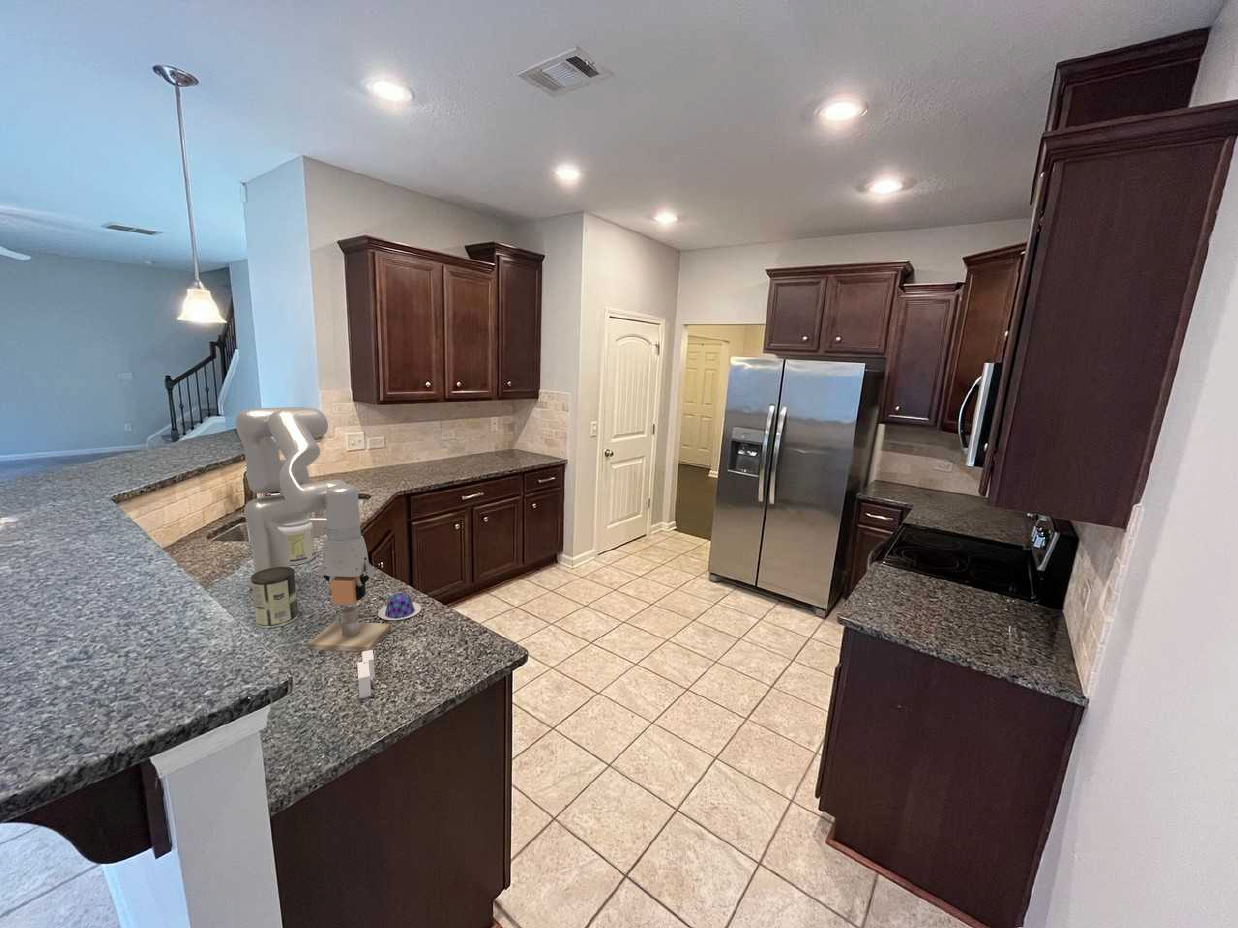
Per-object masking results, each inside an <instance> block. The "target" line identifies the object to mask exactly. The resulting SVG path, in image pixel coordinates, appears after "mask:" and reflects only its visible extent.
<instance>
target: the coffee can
mask: <svg viewBox="0 0 1238 928" xmlns="http://www.w3.org/2000/svg"><path fill="white" fill-rule="evenodd" d="M295 572H296V571H295V569H294V568H293V567H291V568H290V567H274V568H269V569H265V570H261V571H259V572H256V573H254V572H253V574H252V575H251V576H250V579H251V581H252V587H251V589H252V591H253V599H254V600H253V599H252V600H253V605H254V606H253V608H254V615H255V625H256V627H258V628H261V629H273V628H278V627H279V628H280V627H284V626H286V625H289V624H291V623H292V622H294V621H296V620H297V619H298V617H299V611H298V601H297V592H296V588H295V583H296V580H295Z"/></svg>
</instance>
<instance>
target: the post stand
mask: <svg viewBox="0 0 1238 928" xmlns="http://www.w3.org/2000/svg"><path fill="white" fill-rule="evenodd" d="M359 621H360V619H359V607H358V606H346V607H345V608H344V609H343V610H341V611H340V620H338V621H337V620H335V621H333V622H332V623H330V624H329V626H327V627H326V628H324V629H323V630H322V631H321V632H320V633H318V634H317V635H316V636H315V637H314V638H313V639H311V640H310V641H309V642H308V643H307V649H308V650H316V651H317V650H319V651H320V650H321V651H333V652H334V651H335V652H336V651H337V652H352V653H353V652H354V653H356V652H359V653H362V652H364V651H368V650H373V648H375V647H376V646H377V645H378V643H379V642H380V641H381V640H382V639H383V638H384V637H385V636H386V634H388V633H389V631H390V630H391V629H392V626H391V625H392V624H391V623H380V622H379V623H378V622H359Z"/></svg>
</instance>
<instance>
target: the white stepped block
mask: <svg viewBox="0 0 1238 928" xmlns="http://www.w3.org/2000/svg"><path fill="white" fill-rule="evenodd" d="M361 660H362V661H360V662H356V664H357V676H358V677H357V680H358V692H359V693H358V695H359V696H358V697H359V699H364V698H366V697H370V696H371V697H372V688H371V681H374V679H375V678H376V676H375V675H376V673H375V659H374V650H373V649H372V650H368V651H364V652H361Z"/></svg>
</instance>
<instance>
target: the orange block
mask: <svg viewBox="0 0 1238 928" xmlns="http://www.w3.org/2000/svg"><path fill="white" fill-rule="evenodd" d="M330 586H331V587H330V588H331V590H332V591H331V590H330V591H331V601H332V605H342V606H343V605H345V606H347V605H348V606H355V605H356V604H357V603H358V602H359V601H357V600H356V586H357V583H356V581H355V578H354V577H335V578H333V579H332V580H331V585H330Z"/></svg>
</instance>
